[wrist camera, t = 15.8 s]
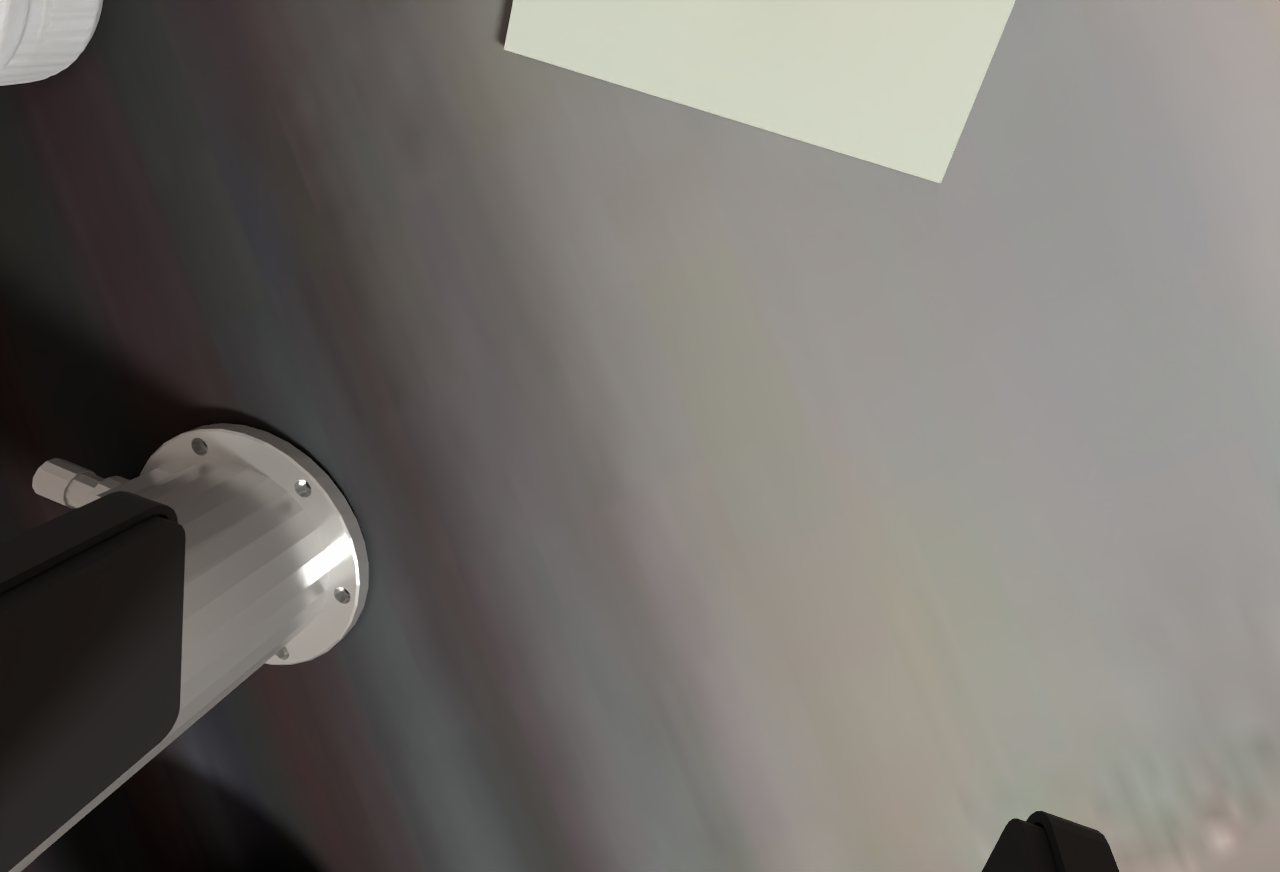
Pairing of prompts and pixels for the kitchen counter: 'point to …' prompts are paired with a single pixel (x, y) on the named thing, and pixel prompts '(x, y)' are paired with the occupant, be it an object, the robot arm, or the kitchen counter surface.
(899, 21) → the mat
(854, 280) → the kitchen counter surface
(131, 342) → the kitchen counter surface
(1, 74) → the ramekin
